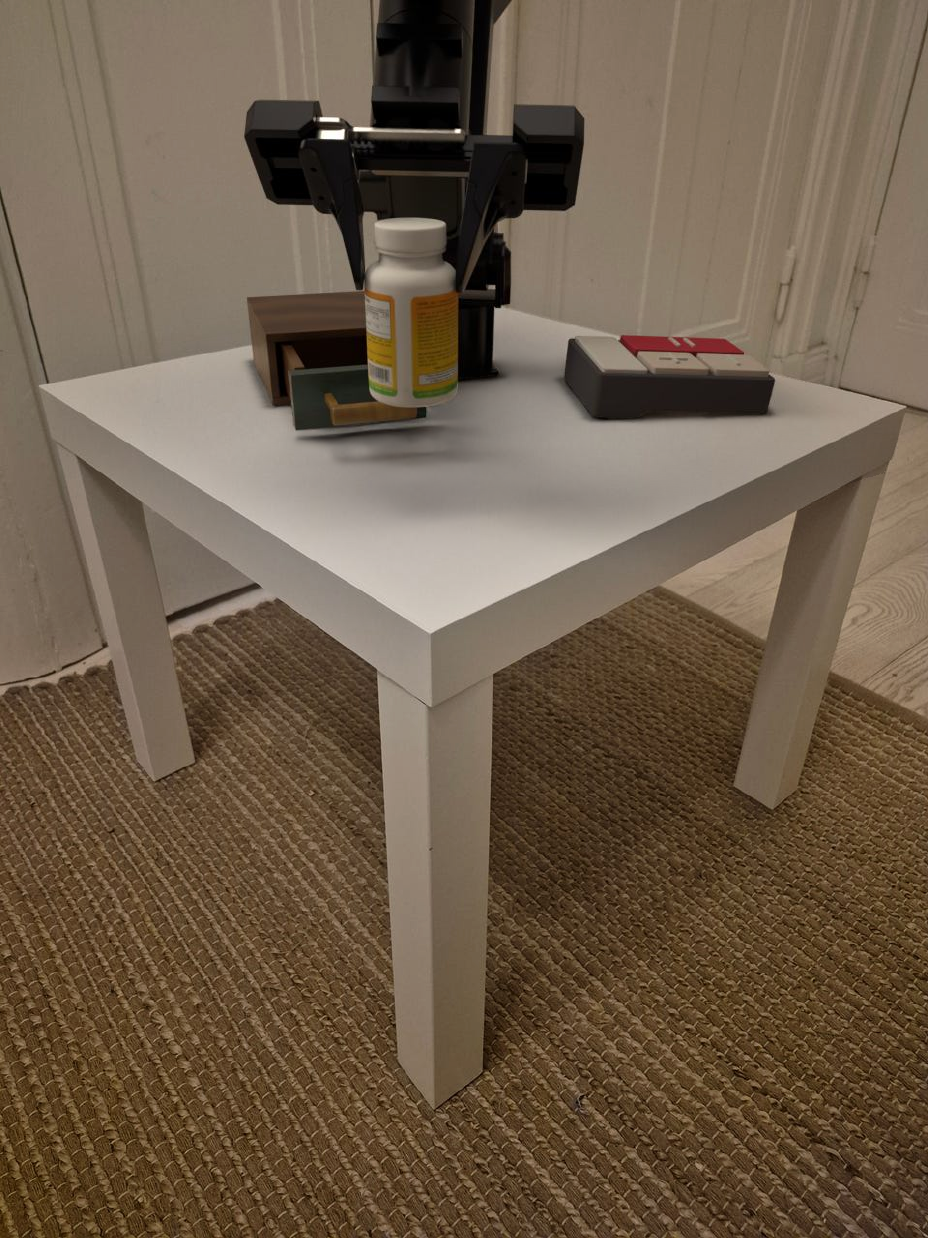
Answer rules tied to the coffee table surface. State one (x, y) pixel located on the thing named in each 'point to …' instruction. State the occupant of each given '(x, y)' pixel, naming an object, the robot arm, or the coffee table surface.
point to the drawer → (333, 384)
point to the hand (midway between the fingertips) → (409, 287)
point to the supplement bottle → (411, 315)
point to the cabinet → (299, 328)
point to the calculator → (665, 376)
